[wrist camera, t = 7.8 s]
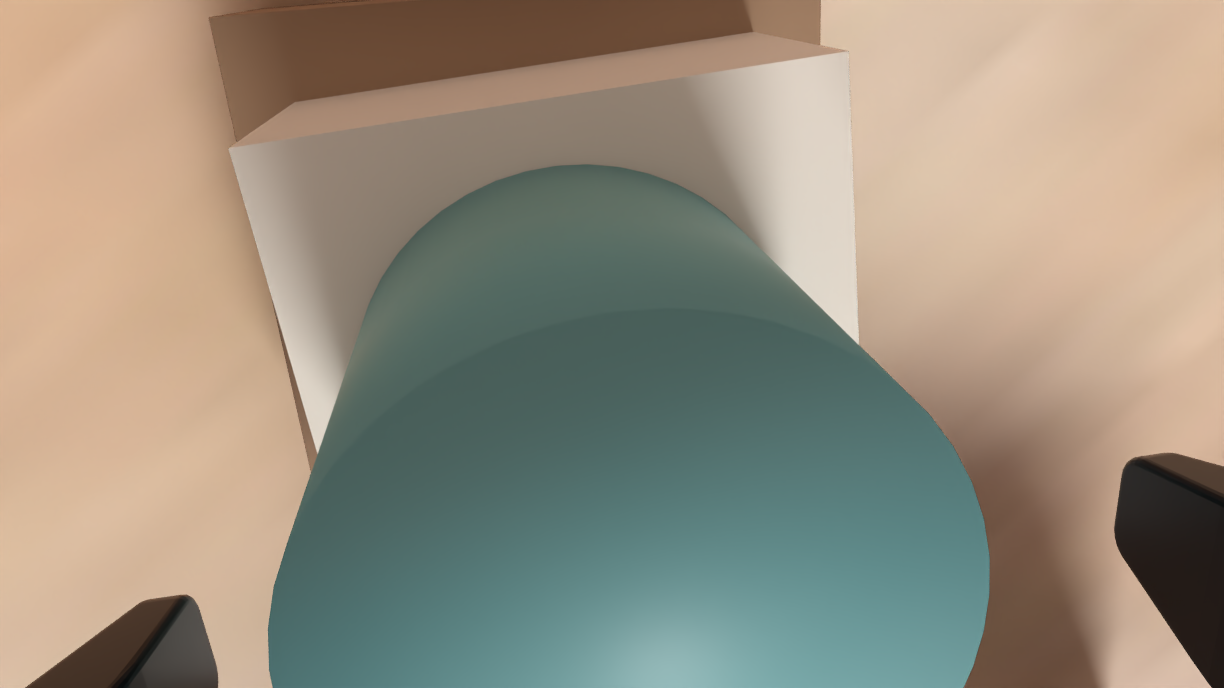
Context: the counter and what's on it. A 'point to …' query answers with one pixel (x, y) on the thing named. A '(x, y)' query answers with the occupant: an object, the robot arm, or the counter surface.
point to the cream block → (539, 138)
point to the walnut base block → (454, 49)
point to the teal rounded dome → (621, 469)
